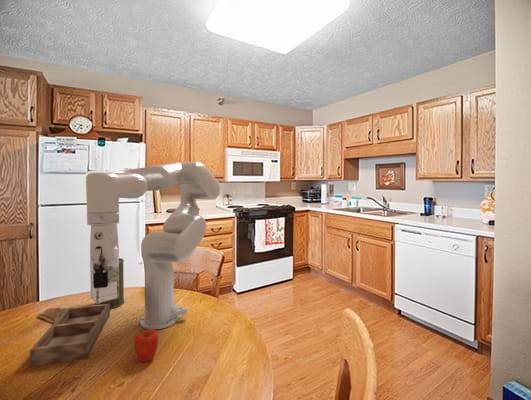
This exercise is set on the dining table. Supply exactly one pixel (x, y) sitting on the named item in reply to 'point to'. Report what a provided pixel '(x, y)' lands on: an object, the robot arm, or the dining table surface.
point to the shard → (52, 314)
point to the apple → (146, 345)
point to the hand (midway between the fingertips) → (104, 281)
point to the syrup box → (113, 281)
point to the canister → (120, 300)
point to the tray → (71, 335)
